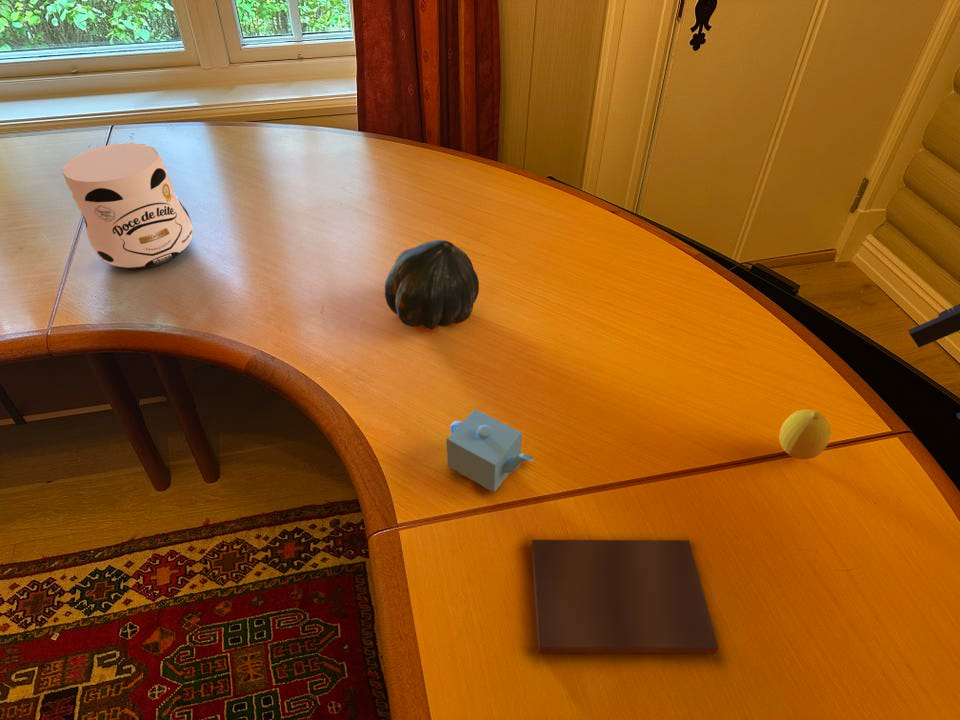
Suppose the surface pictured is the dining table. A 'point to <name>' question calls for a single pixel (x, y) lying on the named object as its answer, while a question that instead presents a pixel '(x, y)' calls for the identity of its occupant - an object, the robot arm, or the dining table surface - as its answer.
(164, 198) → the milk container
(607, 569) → the cutting board
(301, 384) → the dining table surface
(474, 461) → the knobbed blue-grey cube
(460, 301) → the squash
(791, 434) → the lemon
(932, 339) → the robot arm
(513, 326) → the dining table surface
